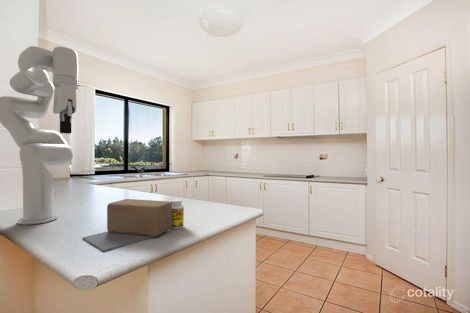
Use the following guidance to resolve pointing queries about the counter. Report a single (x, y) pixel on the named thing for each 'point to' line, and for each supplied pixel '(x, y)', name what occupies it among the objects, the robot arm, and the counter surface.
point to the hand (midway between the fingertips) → (65, 133)
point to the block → (139, 217)
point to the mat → (113, 240)
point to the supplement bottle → (177, 214)
